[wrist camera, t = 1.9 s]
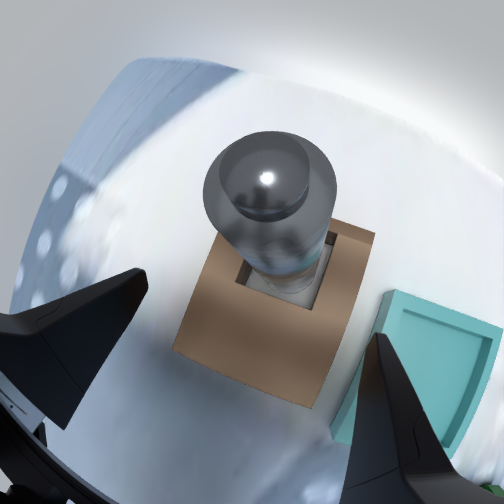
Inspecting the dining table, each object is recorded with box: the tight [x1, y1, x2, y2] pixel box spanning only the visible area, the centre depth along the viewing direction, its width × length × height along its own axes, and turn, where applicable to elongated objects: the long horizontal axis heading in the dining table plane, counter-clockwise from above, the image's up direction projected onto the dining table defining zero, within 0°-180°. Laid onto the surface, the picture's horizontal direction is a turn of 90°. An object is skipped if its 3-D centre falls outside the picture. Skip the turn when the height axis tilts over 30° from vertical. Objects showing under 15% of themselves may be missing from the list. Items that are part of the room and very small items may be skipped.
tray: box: [330, 289, 503, 459], centre depth 15 cm, size 11×11×2 cm
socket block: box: [172, 218, 375, 409], centre depth 18 cm, size 12×10×3 cm
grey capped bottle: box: [203, 131, 337, 294], centre depth 14 cm, size 4×4×14 cm
